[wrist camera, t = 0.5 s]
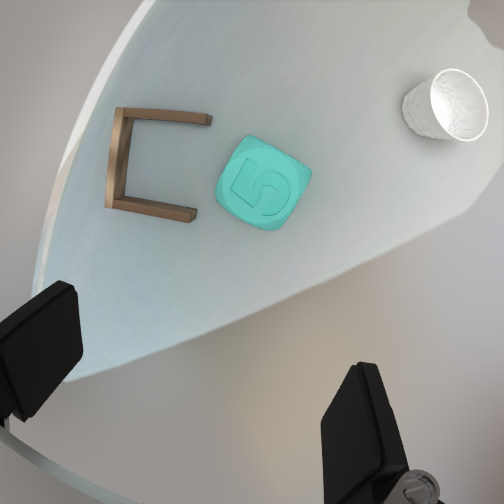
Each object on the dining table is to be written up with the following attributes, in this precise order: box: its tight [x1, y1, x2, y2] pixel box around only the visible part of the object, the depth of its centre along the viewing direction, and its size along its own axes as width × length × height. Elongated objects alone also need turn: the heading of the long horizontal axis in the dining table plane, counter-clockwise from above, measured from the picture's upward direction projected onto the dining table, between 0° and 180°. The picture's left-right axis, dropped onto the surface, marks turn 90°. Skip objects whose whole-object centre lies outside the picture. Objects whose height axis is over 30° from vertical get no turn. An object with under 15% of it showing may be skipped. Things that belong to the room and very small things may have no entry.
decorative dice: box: [215, 135, 312, 231], centre depth 33 cm, size 8×8×8 cm
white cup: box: [402, 69, 489, 141], centre depth 27 cm, size 8×8×10 cm
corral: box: [105, 107, 212, 223], centre depth 36 cm, size 13×12×3 cm
